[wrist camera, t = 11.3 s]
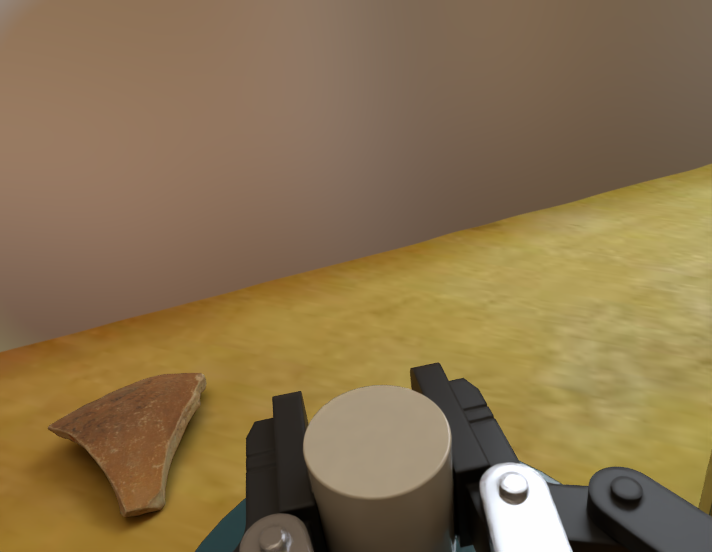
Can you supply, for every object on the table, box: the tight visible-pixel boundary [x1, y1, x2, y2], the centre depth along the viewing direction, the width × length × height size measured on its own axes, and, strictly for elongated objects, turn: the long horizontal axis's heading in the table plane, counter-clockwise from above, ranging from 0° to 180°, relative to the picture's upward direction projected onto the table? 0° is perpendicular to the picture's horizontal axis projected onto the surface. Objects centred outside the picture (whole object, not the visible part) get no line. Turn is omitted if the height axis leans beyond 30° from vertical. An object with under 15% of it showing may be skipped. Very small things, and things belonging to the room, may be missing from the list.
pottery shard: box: [48, 373, 206, 517], centre depth 35 cm, size 10×9×2 cm
